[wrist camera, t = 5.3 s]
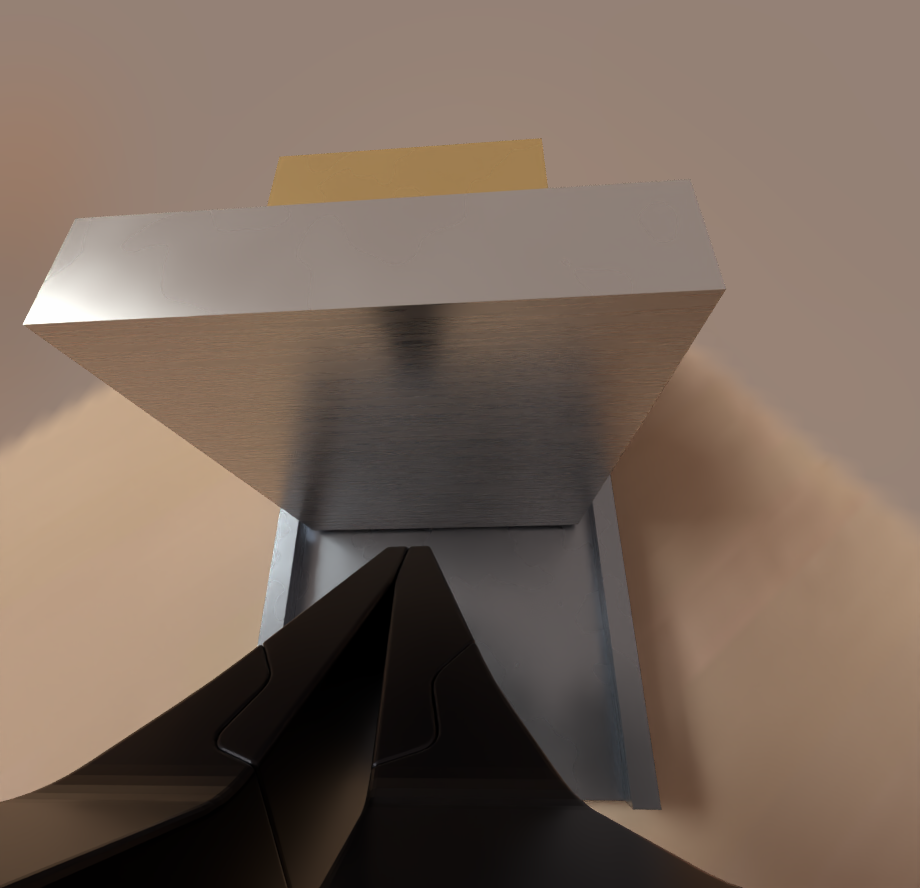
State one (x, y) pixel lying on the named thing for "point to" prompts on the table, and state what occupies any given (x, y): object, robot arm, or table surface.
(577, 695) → the vise
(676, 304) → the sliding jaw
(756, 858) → the table surface
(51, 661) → the table surface
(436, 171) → the brass block
